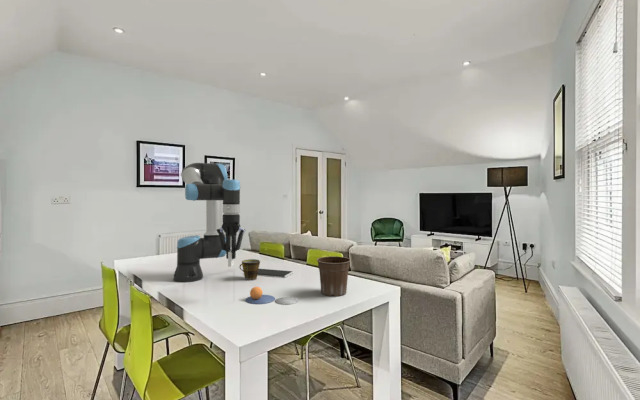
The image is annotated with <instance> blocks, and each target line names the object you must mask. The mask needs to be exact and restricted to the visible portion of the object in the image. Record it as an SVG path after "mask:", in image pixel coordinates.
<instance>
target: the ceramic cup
mask: <svg viewBox="0 0 640 400" xmlns="http://www.w3.org/2000/svg"><path fill="white" fill-rule="evenodd" d="M260 264H261V260H260V259H255V258H252V259H251V258H250V259H249V258H248V259H243V260H241V264H239V269H240V271H242V272H243V276H244V280H245V281H255V280H257V279H258V276H257V274H258V269H260ZM241 267H242V268H241Z"/></svg>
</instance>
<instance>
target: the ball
mask: <svg viewBox="0 0 640 400" xmlns="http://www.w3.org/2000/svg"><path fill="white" fill-rule="evenodd" d="M263 293H264V292H263V289H262V288H261V287H259V286H254V287H252V288H251V290H250V291H249V294H250V296H251V297H252V298H253V299H259V298H261V296H262V295H264V294H263ZM250 296H249V297H250Z"/></svg>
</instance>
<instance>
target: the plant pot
mask: <svg viewBox="0 0 640 400" xmlns="http://www.w3.org/2000/svg"><path fill="white" fill-rule="evenodd" d="M316 261H317V266H318V272H319V280H320V282H319V283H320V292H321V294H322V295H324V296H327V297H331V296H334V297H341V295H342V296H345V295H346V294H347V290H348V278H349V269H350V264H351V258H349V257H345V256H335V255H334V256H332V255H331V256H322V257H321V256H320V257H318V258H316Z"/></svg>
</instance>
